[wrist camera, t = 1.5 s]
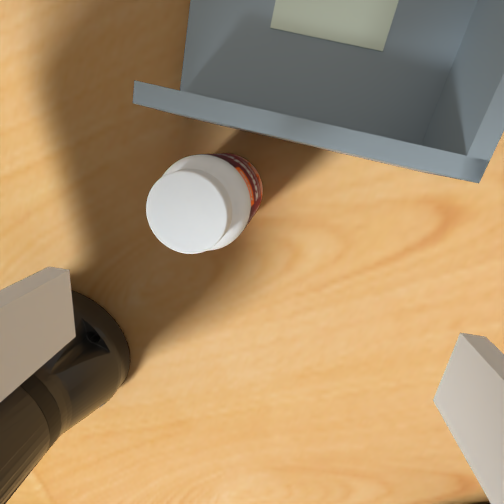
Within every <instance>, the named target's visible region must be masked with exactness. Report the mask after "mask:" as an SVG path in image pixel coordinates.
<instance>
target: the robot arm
mask: <svg viewBox="0 0 504 504" xmlns="http://www.w3.org/2000/svg"><path fill="white" fill-rule="evenodd" d="M129 365H130V354H129V348H128V345H127V342H126V339H125V337H124V335H123V333H122V331H121V329H120V328H119V326H118V325H117V323H116V322H115V321H114V319H113V318H112V317H111V316H110V315H109V314H108V313H107V312H106V311H105V310H104V309H103V308H102V307H101V306H99V305H98V304H97V303H95V302H94V301H92V300H91V299H89V298H87V297H85V296H83V295H81V294H79V293H77V292H74V291H71V282H70V272H69V270H67V269H60V268H54V267H47V268H45V269H43V270H41V271H39V272H37V273H35V274H33V275H31V276H29V277H27V278H25V279H23V280H20V281H18V282H16V283H14V284H12V285H10V286H8V287H6V288H4V289H2V290H0V504H6V502H7V501H8V500H9V499H10V497H11V496H12V495H13V494H14V492H15V491H16V490H17V488H18V487H19V486H20V485H21V483H22V482H23V481H24V480H25V478H26V477H27V476H28V475H29V473H30V472H31V471H32V470H33V468H34V467H35V466H36V465H37V463H38V462H39V461H40V460H41V458H42V457H43V456H44V455H45V453H46V452H47V451H48V450H49V448H50V447H51V446H52V445H53V444H54V442H55V441H56V440H57V439H58V438H59V436H60V435H61V434H63V433H64V432H65V431H67V430H68V429H70V428H71V427H73V426H74V425H75V424H77V423H78V422H80V421H81V420H83V419H84V418H85V417H87V416H88V415H89V414H91V413H92V412H93V411H95V410H96V409H97V408H99V407H101V406H102V405H104V404H105V403H106V402H107V401H109V400H110V399H111V397H112V396H113V395H114V394H115V392H116V391H117V390H118V388H119V387H120V386H121V384H122V383H123V382H124V380H125V378H126V376H127V374H128V371H129ZM433 401H434V403H435V405H436V407H437V408H438V410H439V412H440V414H441V415H442V417H443V419H444V421H445V423H446V424H447V426H448V428H449V430H450V432H451V433H452V435H453V437H454V439H455V441H456V442H457V444H458V446H459V448H460V449H461V451H462V453H463V455H464V457H465V458H466V460H467V462H468V464H469V466H470V467H471V469H472V471H473V473H474V474H475V476H476V478H477V480H478V482H479V483H480V485H481V487H482V489H483V491H484V492H485V494H486V496H487V498H488V499H489V501H490V503H491V504H504V354H503V353H502V352H501V351H500V350H499V349H498V348H497V347H496V346H495V345H494V344H492V343H491V342H490V341H489V340H488V339H487V338H486V337H484V336H477V335H471V334H465V333H460V335H459V337H458V340H457V342H456V345H455V347H454V349H453V352H452V354H451V357H450V359H449V362H448V364H447V367H446V369H445V372H444V374H443V377H442V379H441V382H440V384H439V387H438V389H437V392H436V394H435V397H434V399H433Z"/></svg>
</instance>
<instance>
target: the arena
mask: <svg viewBox="0 0 504 504" xmlns="http://www.w3.org/2000/svg"><path fill="white" fill-rule="evenodd" d="M133 103H134V104H138V105H141V106H145V107H149V108H153V109H156V110H160V111H164V112H168V113H171V114H175V115H179V116H182V117H187V118H191V119H195V120H200V121H204V122H208V123H213V124H217V125H221V126H226V127H230V128H234V129H239V130H243V131H247V132H252V133H256V134H260V135H264V136H269V137H273V138H277V139H282V140H286V141H290V142H295V143H299V144H303V145H308V146H312V147H316V148H321V149H325V150H329V151H333V152H338V153H342V154H346V155H351V156H355V157H359V158H364V159H368V160H372V161H377V162H381V163H385V164H390V165H394V166H398V167H402V168H407V169H411V170H415V171H420V172H425V173H430V174H435V175H440V176H445V177H450V178H455V179H460V180H465V181H470V182H475V183H479V182H480V180H481V178H482V176H483V174H484V171H485V169H486V167H487V165H488V163H489V161H490V159H491V157H492V155H493V153H494V150H495V148H496V146H497V144H498V142H499V140H500V138H501V136H502V134H503V131H504V0H191V1H190V10H189V18H188V27H187V35H186V43H185V52H184V60H183V69H182V77H181V85H180V91H179V90H175V89H170V88H166V87H161V86H157V85H153V84H148V83H144V82H139V81H135V80H134V92H133Z"/></svg>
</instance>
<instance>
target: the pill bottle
mask: <svg viewBox="0 0 504 504" xmlns="http://www.w3.org/2000/svg"><path fill="white" fill-rule="evenodd" d="M262 195H263V186H262V181H261V178H260V176H259V174H258V172H257V170H256V169H255V167H254V166H253V165H252V164H251V163H250V162H249V161H247V160H246V159H244V158H242V157H240V156H238V155H234V154H229V153H221V154H198V155H192V156H188V157H185V158H182V159H180V160H178V161H177V162H175V163H174V164H173V165H171V166H170V167H169V168H168V169H167V170H166V172H165V173H164V174H163V176H162V177H161V178H160V179H159V180H158V181H157V182H156V183H155V184H154V185H153V187H152V188H151V190H150V192H149V195H148V198H147V203H146V215H147V219H148V223H149V225H150V228H151V230H152V231H153V233H154V234H155V236H156V237H157V238H158V239H159V241H161V242H162V243H163V244H164V245H165V246H167V247H168V248H170V249H172V250H174V251H177V252H180V253H185V254H197V253H201V252H204V251H208V250H215V249H219V248H222V247H224V246H226V245H228V244H230V243H231V242H233V241H234V240H235V239H236V238H237V237H238V236H239V235H240V234H241V233H242V231H243V230H244V229H245V227H246V226H247V224H248V223H249V222H250V220H251V219H252V217H253V216H254V214H255V213H256V212H257V210H258V208H259V206H260V203H261V200H262Z"/></svg>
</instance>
